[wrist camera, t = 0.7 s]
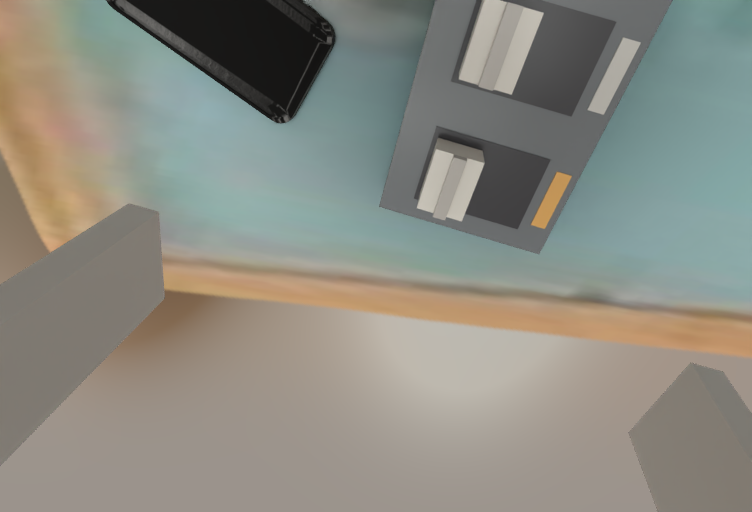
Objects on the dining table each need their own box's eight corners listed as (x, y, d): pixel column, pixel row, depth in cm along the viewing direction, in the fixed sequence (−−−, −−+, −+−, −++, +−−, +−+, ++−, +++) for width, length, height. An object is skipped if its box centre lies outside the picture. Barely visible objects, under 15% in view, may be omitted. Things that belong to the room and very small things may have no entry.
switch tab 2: (483, -3, 24) (486, -5, 21) (536, 12, 24) (546, 12, 21) (458, 72, 26) (458, 81, 23) (507, 87, 26) (512, 96, 23)
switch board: (505, -246, 21) (511, -281, 19) (741, -180, 21) (782, -207, 18) (385, 191, 34) (378, 207, 31) (532, 235, 34) (539, 254, 31)
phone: (285, 129, 32) (97, -2, 30) (290, 126, 33) (109, -2, 30) (339, 30, 28) (129, -131, 26) (343, 30, 29) (140, -126, 27)
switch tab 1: (437, 137, 28) (435, 151, 25) (482, 150, 28) (485, 166, 25) (419, 193, 30) (415, 211, 27) (461, 205, 30) (461, 225, 27)
